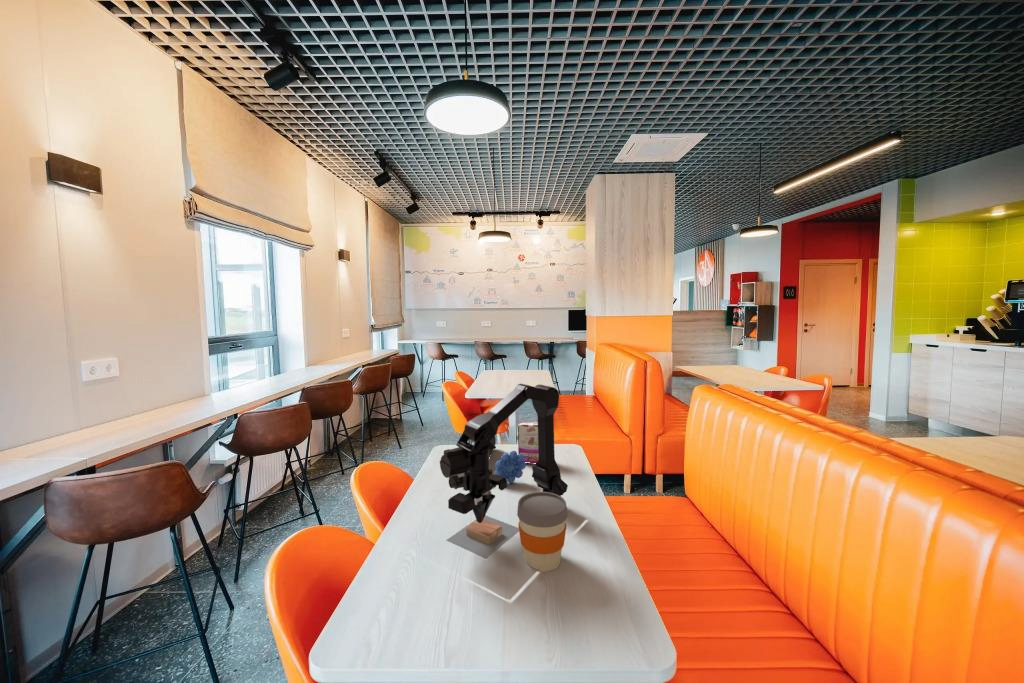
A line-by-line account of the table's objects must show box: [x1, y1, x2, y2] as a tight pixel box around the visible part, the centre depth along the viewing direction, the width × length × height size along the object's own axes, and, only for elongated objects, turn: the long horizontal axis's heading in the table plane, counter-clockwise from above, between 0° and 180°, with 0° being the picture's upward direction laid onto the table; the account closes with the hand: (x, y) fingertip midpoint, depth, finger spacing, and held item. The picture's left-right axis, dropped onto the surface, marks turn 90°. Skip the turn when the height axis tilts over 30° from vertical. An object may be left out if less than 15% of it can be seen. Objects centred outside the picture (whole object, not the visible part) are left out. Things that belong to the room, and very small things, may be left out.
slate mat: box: [446, 515, 519, 559], centre depth 110 cm, size 16×14×1 cm
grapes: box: [493, 450, 527, 484], centre depth 143 cm, size 12×7×12 cm, turn 96°
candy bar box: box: [517, 421, 539, 463], centre depth 161 cm, size 11×5×16 cm, turn 80°
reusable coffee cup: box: [516, 491, 568, 572], centre depth 99 cm, size 12×13×15 cm
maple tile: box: [465, 519, 502, 545], centre depth 110 cm, size 2×8×6 cm
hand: (479, 522), depth 108 cm, fingers closed
